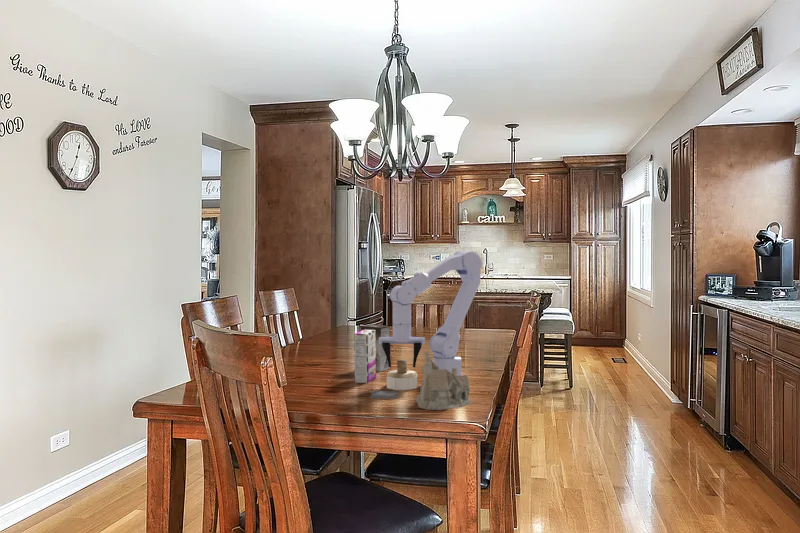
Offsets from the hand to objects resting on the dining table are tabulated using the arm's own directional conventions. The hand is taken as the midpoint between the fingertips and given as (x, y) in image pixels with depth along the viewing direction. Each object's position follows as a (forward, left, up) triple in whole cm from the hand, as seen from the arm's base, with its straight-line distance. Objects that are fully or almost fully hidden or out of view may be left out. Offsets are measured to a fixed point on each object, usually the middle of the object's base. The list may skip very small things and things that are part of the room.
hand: (402, 366), depth 189 cm
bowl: (0, 0, -7) cm, 7 cm away
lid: (0, 0, -3) cm, 3 cm away
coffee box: (+10, -31, -7) cm, 33 cm away
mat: (+5, +11, -7) cm, 14 cm away
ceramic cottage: (-12, +20, -7) cm, 25 cm away
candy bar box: (+12, -11, -7) cm, 18 cm away
